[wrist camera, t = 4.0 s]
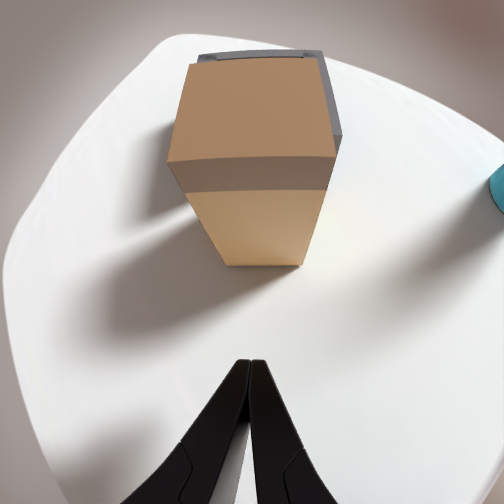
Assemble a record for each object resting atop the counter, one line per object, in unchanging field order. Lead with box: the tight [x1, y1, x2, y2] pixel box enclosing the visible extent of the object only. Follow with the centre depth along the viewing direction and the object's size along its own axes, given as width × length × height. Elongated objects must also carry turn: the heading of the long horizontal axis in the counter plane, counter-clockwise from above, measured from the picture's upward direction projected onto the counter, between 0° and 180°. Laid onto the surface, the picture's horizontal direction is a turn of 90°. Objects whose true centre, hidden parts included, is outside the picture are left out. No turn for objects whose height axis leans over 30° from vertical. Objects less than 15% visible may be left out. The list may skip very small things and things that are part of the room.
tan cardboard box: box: [167, 58, 336, 266], centre depth 15 cm, size 5×5×12 cm
